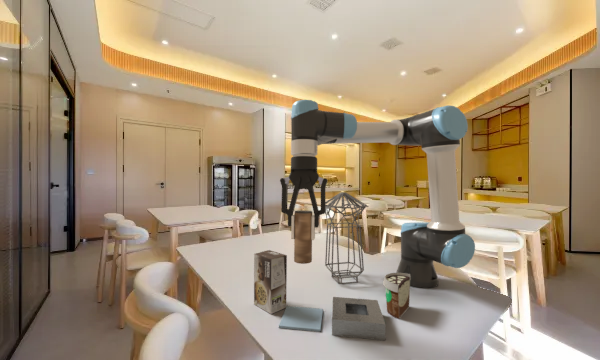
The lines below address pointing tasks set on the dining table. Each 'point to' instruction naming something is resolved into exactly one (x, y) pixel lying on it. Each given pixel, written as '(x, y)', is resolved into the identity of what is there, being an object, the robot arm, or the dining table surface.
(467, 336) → the dining table surface
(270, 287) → the coffee box
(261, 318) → the dining table surface
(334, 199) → the geometric lantern
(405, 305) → the food container
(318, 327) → the light blue square plate
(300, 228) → the wooden cylinder
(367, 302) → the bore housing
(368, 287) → the dining table surface
